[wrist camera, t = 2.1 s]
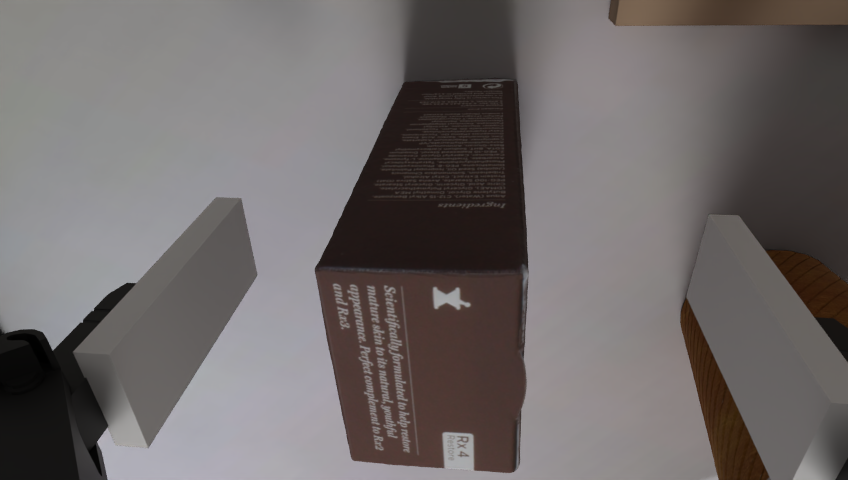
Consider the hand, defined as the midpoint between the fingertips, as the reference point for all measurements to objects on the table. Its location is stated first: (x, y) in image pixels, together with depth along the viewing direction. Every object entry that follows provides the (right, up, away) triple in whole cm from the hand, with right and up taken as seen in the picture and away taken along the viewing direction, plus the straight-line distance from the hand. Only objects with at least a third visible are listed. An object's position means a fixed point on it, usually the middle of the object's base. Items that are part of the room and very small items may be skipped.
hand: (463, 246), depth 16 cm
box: (0, +4, +6) cm, 7 cm away
